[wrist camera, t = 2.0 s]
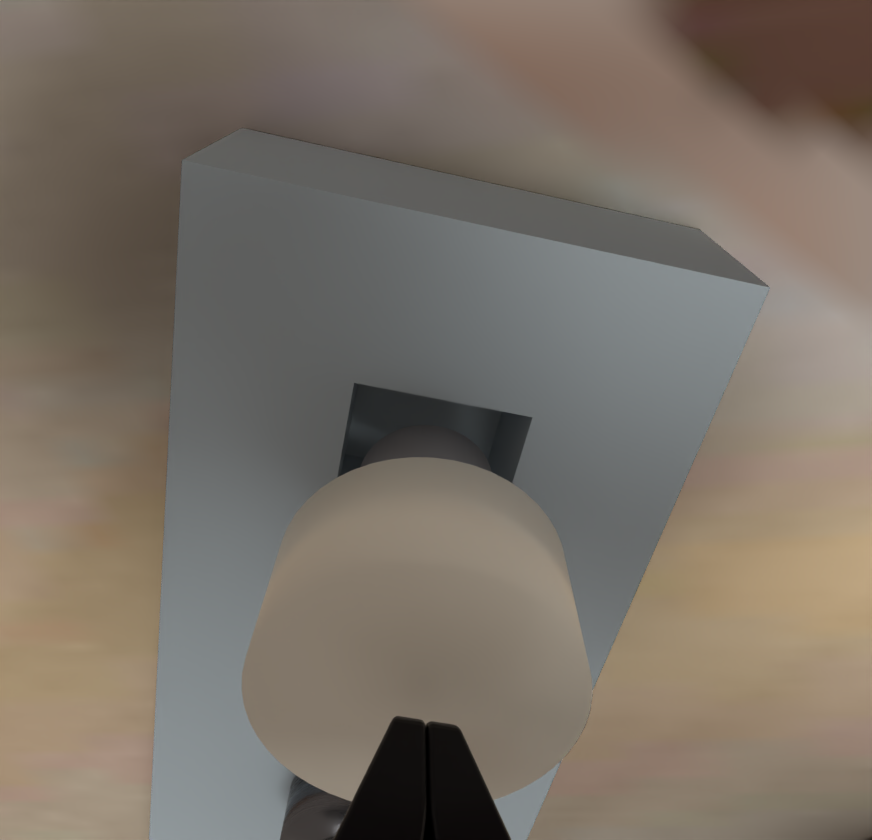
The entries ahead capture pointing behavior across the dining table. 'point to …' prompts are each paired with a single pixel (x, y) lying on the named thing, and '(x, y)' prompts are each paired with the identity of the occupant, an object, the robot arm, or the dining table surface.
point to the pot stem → (312, 813)
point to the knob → (418, 620)
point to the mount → (408, 404)
